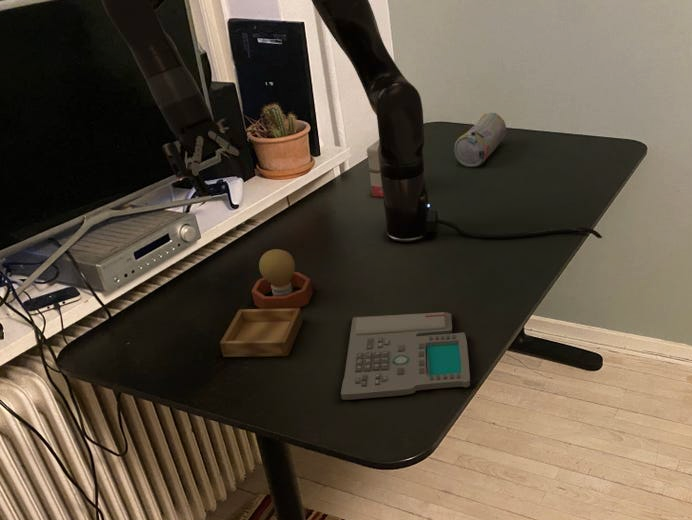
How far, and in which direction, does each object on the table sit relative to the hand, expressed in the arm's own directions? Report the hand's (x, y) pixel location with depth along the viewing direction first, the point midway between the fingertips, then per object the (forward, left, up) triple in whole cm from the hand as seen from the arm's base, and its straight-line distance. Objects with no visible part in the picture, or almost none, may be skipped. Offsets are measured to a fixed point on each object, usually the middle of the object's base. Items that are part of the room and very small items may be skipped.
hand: (224, 186), depth 133 cm
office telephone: (-35, +27, -20) cm, 48 cm away
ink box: (-22, -47, -20) cm, 55 cm away
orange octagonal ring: (-9, +7, -20) cm, 23 cm away
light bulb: (-9, +7, -20) cm, 23 cm away
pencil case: (-45, -71, -20) cm, 86 cm away
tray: (-9, +21, -20) cm, 30 cm away
